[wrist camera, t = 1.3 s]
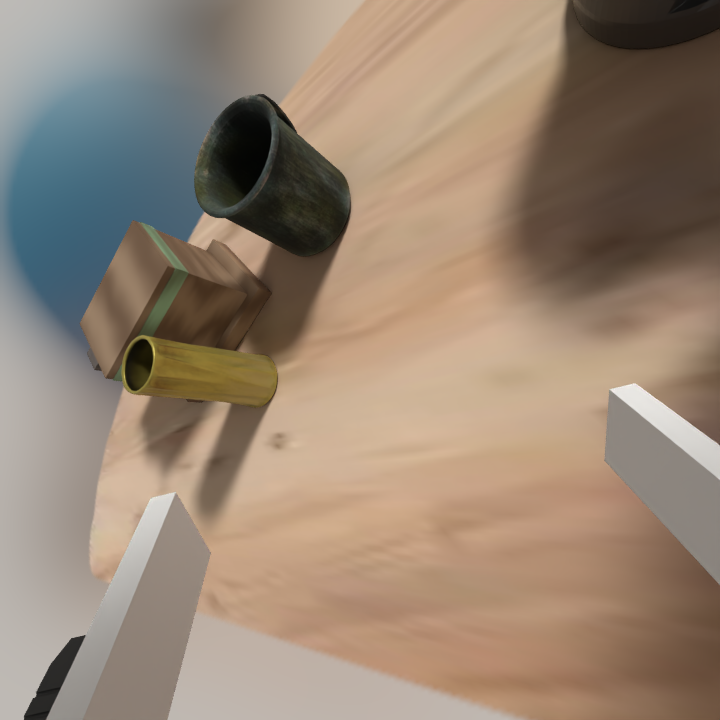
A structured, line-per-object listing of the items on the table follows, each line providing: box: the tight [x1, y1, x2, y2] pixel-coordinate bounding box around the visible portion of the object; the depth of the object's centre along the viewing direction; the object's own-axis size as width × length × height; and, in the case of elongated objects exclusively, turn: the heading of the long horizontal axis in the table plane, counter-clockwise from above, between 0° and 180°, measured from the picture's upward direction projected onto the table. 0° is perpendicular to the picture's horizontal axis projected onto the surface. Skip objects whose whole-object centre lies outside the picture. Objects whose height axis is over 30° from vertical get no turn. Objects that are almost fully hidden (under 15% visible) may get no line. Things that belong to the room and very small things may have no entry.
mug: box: [194, 94, 350, 256], centre depth 42 cm, size 11×15×12 cm
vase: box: [121, 335, 277, 408], centre depth 42 cm, size 6×6×14 cm
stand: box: [80, 220, 271, 402], centre depth 49 cm, size 17×12×12 cm
